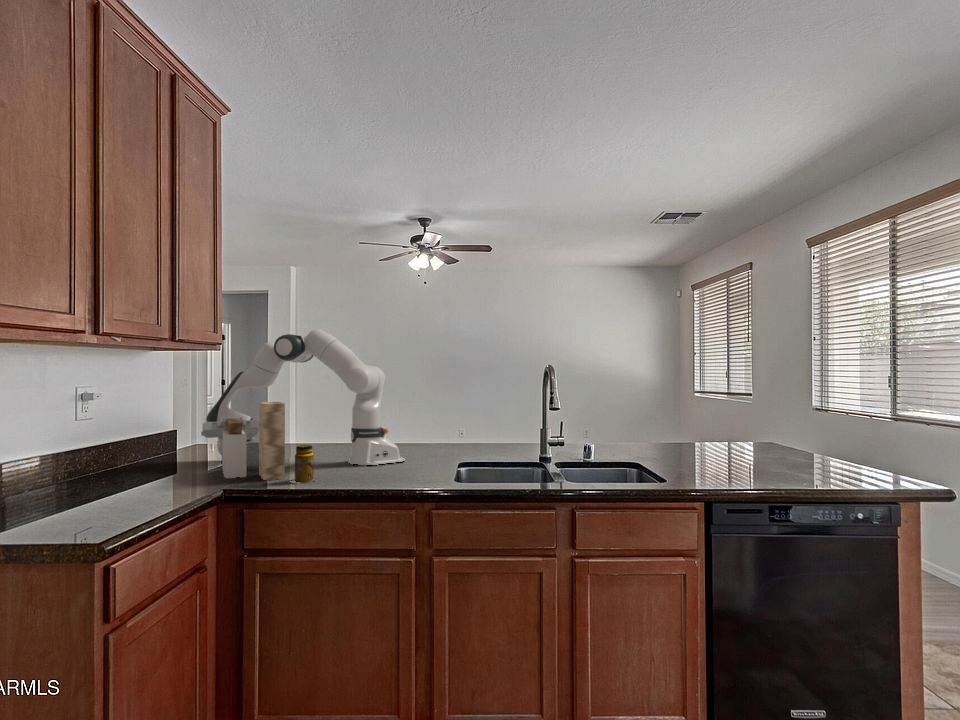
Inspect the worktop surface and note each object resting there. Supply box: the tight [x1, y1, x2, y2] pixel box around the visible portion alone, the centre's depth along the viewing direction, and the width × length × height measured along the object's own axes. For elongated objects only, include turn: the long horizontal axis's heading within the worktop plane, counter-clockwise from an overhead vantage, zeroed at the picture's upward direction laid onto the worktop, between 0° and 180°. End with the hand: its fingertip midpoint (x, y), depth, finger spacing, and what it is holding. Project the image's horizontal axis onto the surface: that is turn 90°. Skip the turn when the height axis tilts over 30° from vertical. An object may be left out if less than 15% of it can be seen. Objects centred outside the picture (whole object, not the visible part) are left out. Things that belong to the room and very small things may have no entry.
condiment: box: [286, 444, 318, 485], centre depth 202 cm, size 7×8×12 cm
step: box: [222, 430, 248, 479], centre depth 216 cm, size 7×15×15 cm, turn 26°
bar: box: [226, 418, 242, 435], centre depth 219 cm, size 4×20×4 cm, turn 26°
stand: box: [258, 401, 286, 481], centre depth 211 cm, size 7×13×26 cm, turn 26°
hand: (232, 419), depth 225 cm, fingers open, 5 cm apart
